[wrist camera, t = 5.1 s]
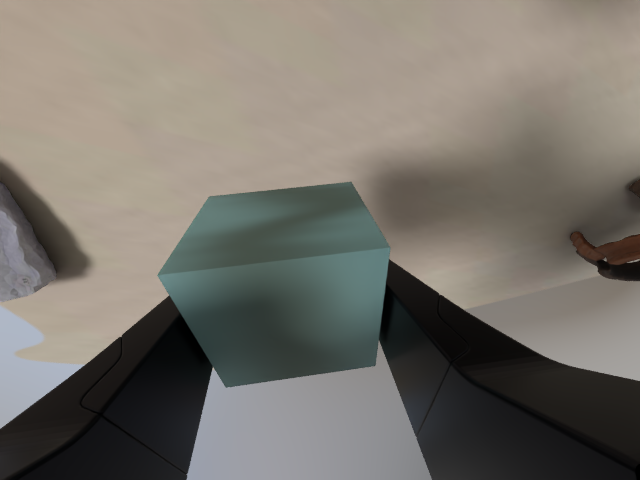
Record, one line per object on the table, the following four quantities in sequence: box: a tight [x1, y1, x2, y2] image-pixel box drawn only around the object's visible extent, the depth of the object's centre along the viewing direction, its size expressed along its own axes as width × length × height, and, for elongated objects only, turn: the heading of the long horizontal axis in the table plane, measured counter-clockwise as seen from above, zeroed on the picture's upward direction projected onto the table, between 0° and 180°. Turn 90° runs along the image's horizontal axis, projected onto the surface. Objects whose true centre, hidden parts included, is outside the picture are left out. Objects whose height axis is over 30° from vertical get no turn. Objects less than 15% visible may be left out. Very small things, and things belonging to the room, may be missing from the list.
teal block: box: [157, 182, 390, 387], centre depth 8 cm, size 5×5×4 cm
